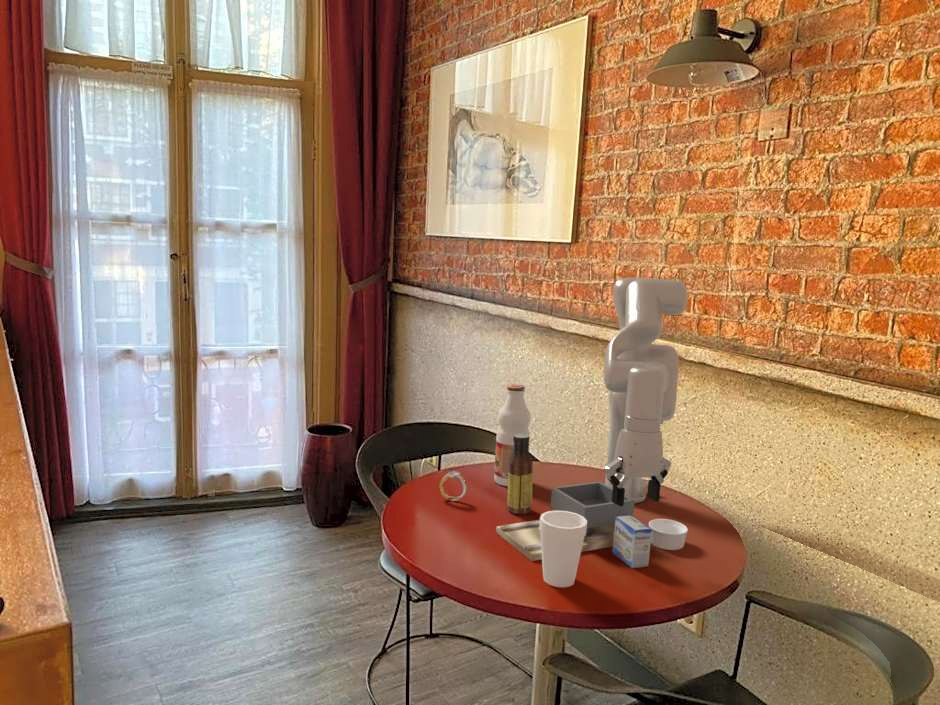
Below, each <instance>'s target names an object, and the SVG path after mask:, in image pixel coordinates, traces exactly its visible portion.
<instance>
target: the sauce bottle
mask: <svg viewBox="0 0 940 705" xmlns="http://www.w3.org/2000/svg"><path fill="white" fill-rule="evenodd" d="M513 441H514V450H513V454H512V455H511V457H510V459H509V470H508V486H507V509H508V511H509V512H510V513H512V514H515V515H516V514H517V515H528V514H530V513H531V512H532V505H533V479H534V477H533V476H534V474H533V459H532V457H531V454H530V449H529V450H528V445H529V446H530V442H529V435H526V434H515V435H514V436H513Z"/></svg>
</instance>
